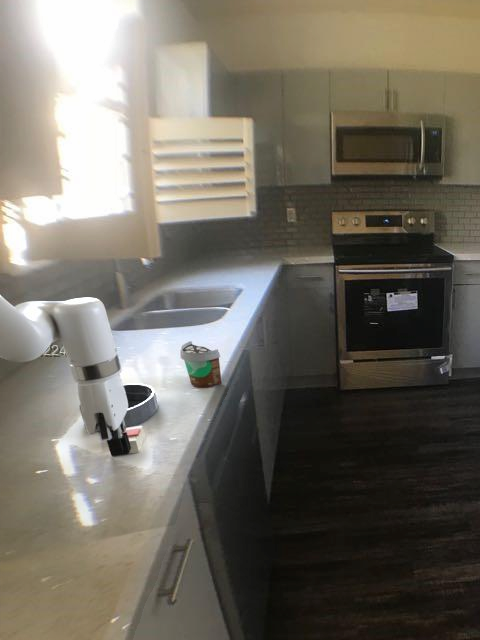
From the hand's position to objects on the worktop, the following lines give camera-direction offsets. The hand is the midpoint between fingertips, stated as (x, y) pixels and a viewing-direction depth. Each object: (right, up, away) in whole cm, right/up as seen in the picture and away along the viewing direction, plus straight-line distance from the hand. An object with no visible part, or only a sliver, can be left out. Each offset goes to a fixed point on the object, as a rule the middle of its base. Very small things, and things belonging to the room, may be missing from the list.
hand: (121, 452), depth 89 cm
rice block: (-1, 0, +5) cm, 5 cm away
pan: (-9, +5, +17) cm, 20 cm away
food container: (+3, +11, +31) cm, 33 cm away
